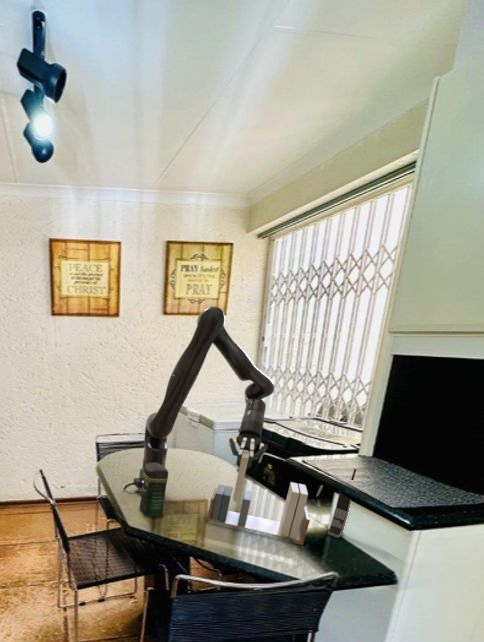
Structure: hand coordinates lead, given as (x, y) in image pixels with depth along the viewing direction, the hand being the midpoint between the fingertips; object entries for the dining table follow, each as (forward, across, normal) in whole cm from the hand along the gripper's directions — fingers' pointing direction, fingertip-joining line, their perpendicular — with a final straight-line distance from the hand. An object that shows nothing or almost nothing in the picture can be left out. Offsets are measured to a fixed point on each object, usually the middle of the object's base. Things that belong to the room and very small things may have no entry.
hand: (243, 466), depth 133 cm
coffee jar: (+20, -28, +12) cm, 37 cm away
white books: (+13, +19, +16) cm, 28 cm away
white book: (+7, 0, +10) cm, 12 cm away
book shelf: (+14, +8, +17) cm, 23 cm away
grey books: (+13, -1, +16) cm, 21 cm away
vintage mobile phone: (+8, +36, +23) cm, 43 cm away
